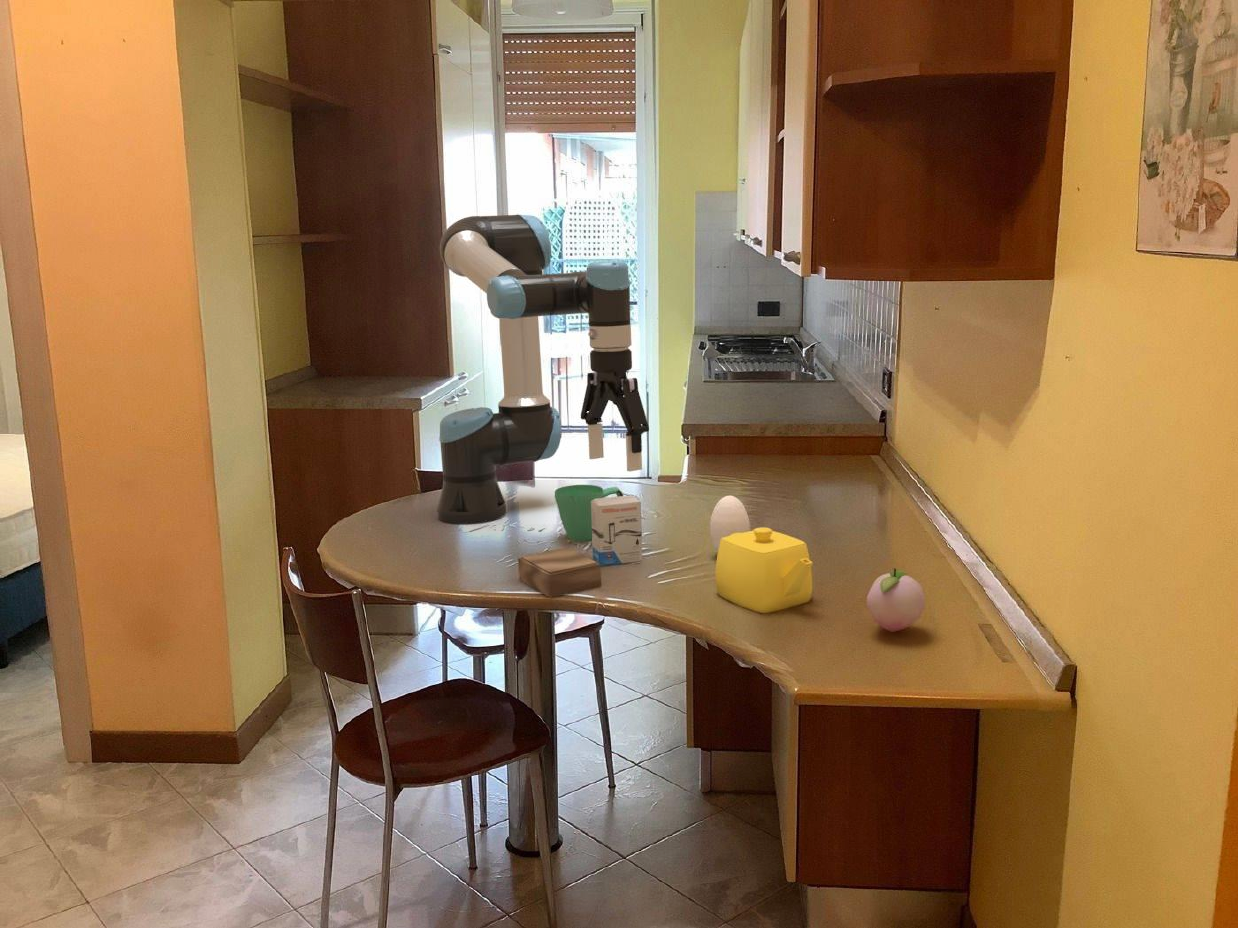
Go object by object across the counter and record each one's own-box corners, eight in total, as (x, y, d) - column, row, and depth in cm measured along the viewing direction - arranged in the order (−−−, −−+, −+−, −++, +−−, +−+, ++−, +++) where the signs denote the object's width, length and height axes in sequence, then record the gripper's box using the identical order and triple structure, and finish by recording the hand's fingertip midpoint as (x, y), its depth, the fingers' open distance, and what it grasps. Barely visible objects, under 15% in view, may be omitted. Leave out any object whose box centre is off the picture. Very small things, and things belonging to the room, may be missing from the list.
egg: (702, 556, 196) (701, 496, 193) (729, 548, 200) (728, 489, 198) (730, 565, 190) (729, 502, 188) (758, 556, 195) (757, 495, 192)
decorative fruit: (920, 646, 150) (922, 580, 148) (863, 640, 153) (864, 575, 151) (927, 623, 159) (929, 561, 156) (872, 618, 162) (873, 557, 159)
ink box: (599, 566, 192) (596, 505, 189) (592, 559, 197) (589, 499, 194) (643, 561, 194) (641, 500, 192) (635, 553, 199) (633, 494, 196)
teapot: (837, 607, 167) (837, 537, 165) (778, 624, 161) (777, 551, 158) (757, 576, 184) (756, 511, 181) (700, 590, 177) (699, 523, 175)
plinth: (519, 579, 186) (518, 556, 185) (568, 568, 191) (567, 546, 190) (550, 597, 176) (548, 573, 175) (601, 585, 181) (600, 562, 180)
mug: (569, 548, 204) (566, 498, 202) (549, 536, 213) (546, 488, 211) (634, 536, 211) (633, 488, 209) (613, 525, 219) (611, 479, 217)
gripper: (559, 345, 196) (565, 456, 200) (629, 355, 175) (633, 478, 179) (594, 342, 199) (598, 451, 204) (666, 351, 178) (669, 472, 183)
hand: (615, 464), depth 192 cm, fingers open, 13 cm apart
